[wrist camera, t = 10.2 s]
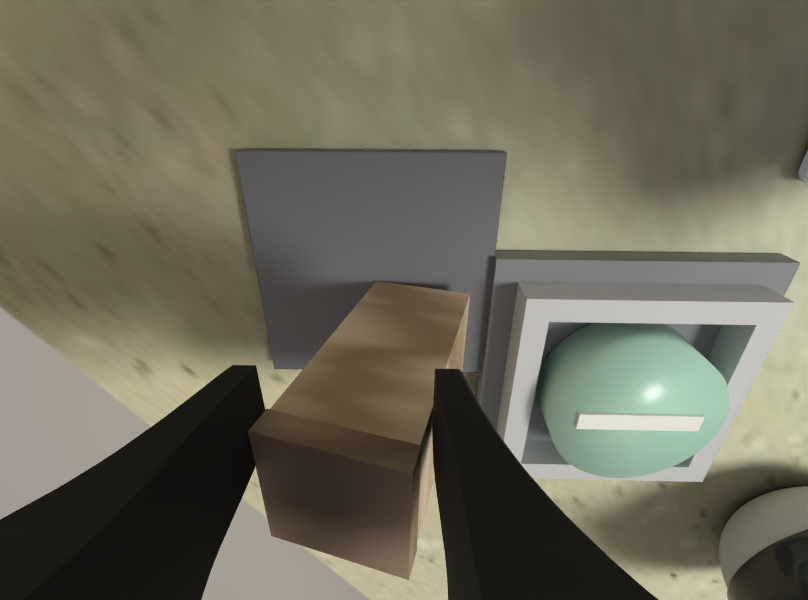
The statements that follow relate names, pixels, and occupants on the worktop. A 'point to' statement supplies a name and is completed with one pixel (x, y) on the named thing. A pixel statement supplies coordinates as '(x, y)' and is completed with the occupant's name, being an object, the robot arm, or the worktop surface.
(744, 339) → the switch panel
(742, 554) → the pump dispenser
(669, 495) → the worktop surface
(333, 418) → the wooden rectangular block
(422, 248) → the mat
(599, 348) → the button
